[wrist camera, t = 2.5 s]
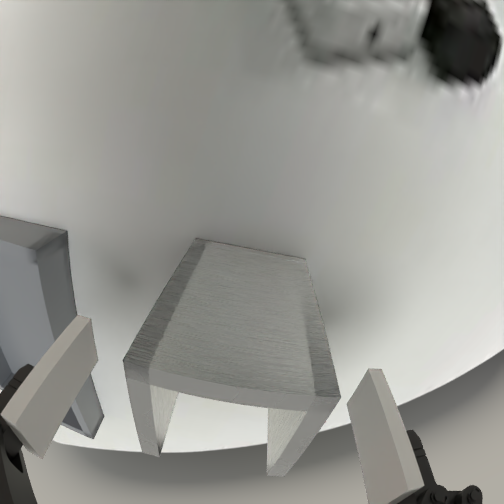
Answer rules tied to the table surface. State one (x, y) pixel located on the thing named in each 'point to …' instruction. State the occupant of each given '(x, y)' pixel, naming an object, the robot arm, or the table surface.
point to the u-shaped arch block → (235, 347)
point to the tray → (39, 308)
